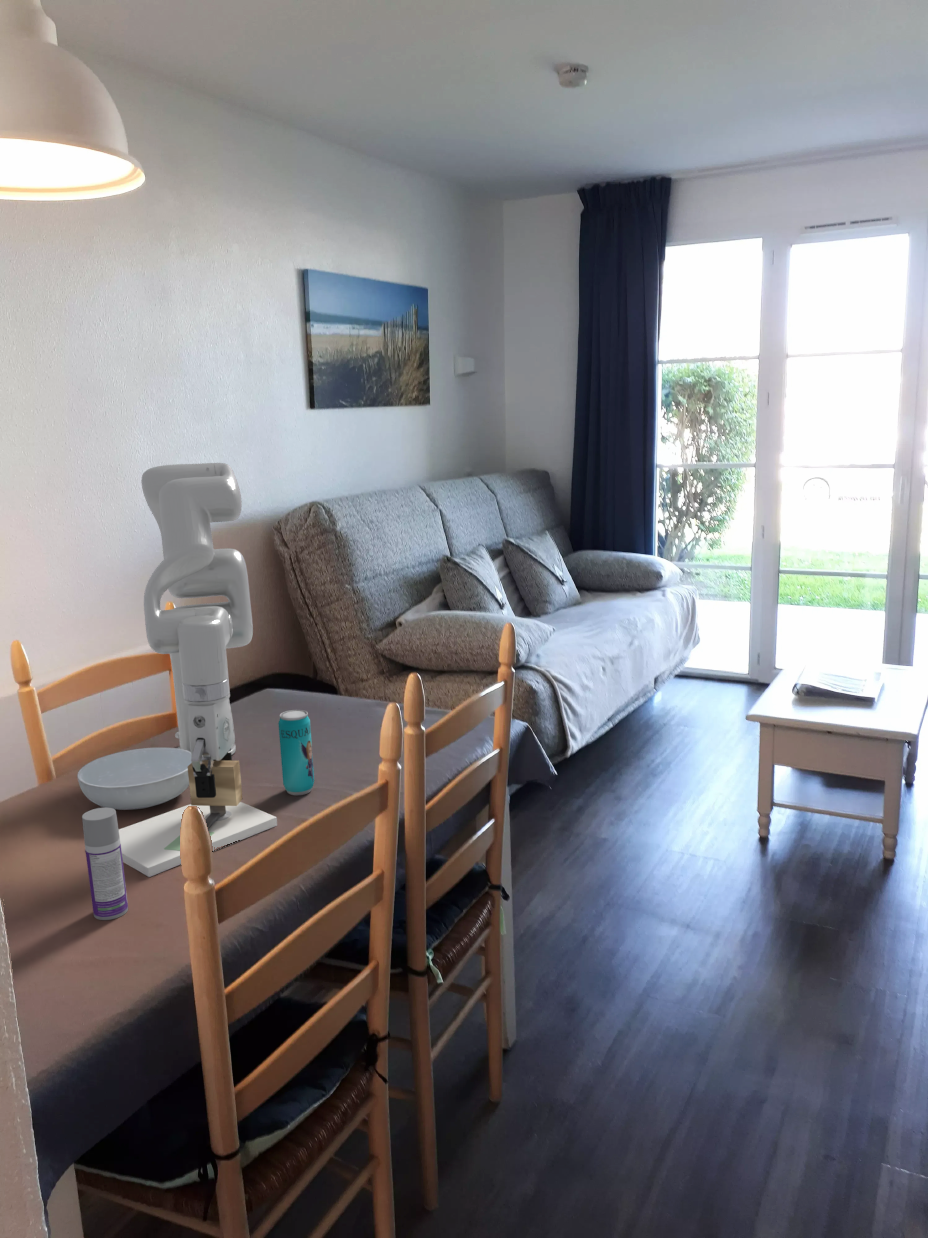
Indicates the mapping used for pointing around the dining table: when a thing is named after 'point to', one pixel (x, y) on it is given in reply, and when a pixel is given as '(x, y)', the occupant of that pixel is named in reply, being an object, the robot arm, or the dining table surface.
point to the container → (105, 863)
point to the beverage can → (296, 752)
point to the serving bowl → (136, 777)
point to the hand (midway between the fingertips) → (215, 785)
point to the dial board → (159, 837)
